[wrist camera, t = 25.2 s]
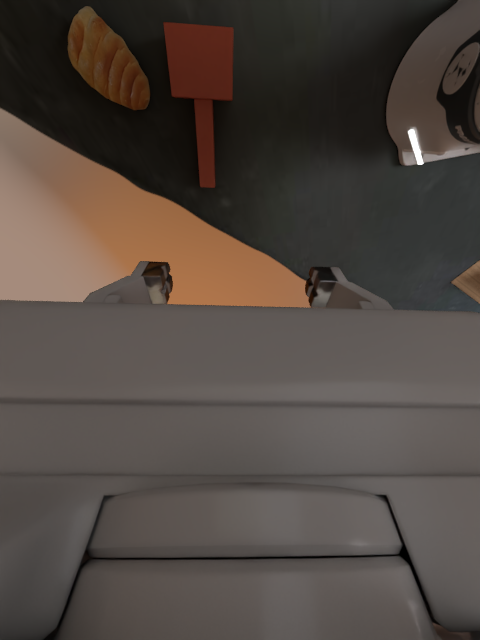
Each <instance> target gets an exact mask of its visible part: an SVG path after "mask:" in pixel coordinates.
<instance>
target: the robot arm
mask: <svg viewBox="0 0 480 640" xmlns="http://www.w3.org/2000/svg"><path fill="white" fill-rule="evenodd" d="M386 122H387V128H388V131H389V134H390V136H391V138H392V139H393V141H394V142H395V143H396V145H397V147H398V155H399V161H400V164H401V165H403V166H409V165H414V164H419V165H422V164H423V163H425V162H431V161H436V160H441V159H447V158H452V157H458V156H463V155H468V154H474V153H479V152H480V0H458V1H457V3H456V4H454V5H453V6H452V7H451V8H450V9H449V10H447V11H446V12H445V13H443V14H442V15H441V16H439V17H438V18H437V19H435V20H434V21H433V22H432V23H431V24H430V25H429V26H428V27H427V28H426V29H425V30H424V31H423V32H422V33H421V34H420V35H419V36H418V38H417V39H416V40H415V41H414V43H413V44H412V45H411V47H410V48H409V50H408V51H407V53H406V54H405V56H404V58H403V60H402V61H401V63H400V65H399V67H398V69H397V71H396V74H395V76H394V79H393V81H392V84H391V87H390V91H389V95H388V100H387V107H386ZM415 156H416V158H415ZM169 272H170V266H169V264H168V262H149V261H141V262H139V264H138V265H137V267H136V269H135V270H134V271H133V273H132V274H131V276H127V277H124V278H122V279H120V280H118V281H116V282H114V283H112V284H109V285H107V286H105V287H103V288H101V289H99V290H96V291H94V292H92V293H90V294H89V295H88V297H87V298H86V299H85V300H84V301H83V302H51V301H15V300H0V640H480V313H477V312H468V311H423V310H394V309H393V308H392V307H391V306H390V304H389V303H388V302H387V301H386V300H384V299H382V298H380V297H378V296H376V295H374V294H372V293H370V292H369V291H367V290H365V289H363V288H361V287H359V286H357V285H355V284H353V283H351V282H348V281H347V280H346V278H345V276H344V275H343V273H342V272H341V270H340V269H339V268H338V267H311V269H310V271H309V276H310V278H309V279H308V280H307V281H306V287H305V292H306V295H307V296H308V297H309V303H310V306H311V308H298V307H256V306H255V307H253V306H215V305H213V306H212V305H174V304H167V302H168V300H169V293H170V292H171V291H172V287H173V281H172V276H171V275H170V274H169Z"/></svg>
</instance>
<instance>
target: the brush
mask: <svg viewBox="0 0 480 640" xmlns="http://www.w3.org/2000/svg"><path fill="white" fill-rule="evenodd" d="M164 32H165V41H166V49H167V58H168V67H169V75H170V84H171V93H172V96H173V97H174V98H189V99H194V105H195V120H196V135H197V149H198V164H199V178H200V187H211V188H215V149H214V115H213V100H223V101H232V96H233V28H232V27H219V26H207V25H194V24H182V23H169V22H164Z"/></svg>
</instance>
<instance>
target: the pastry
mask: <svg viewBox="0 0 480 640" xmlns="http://www.w3.org/2000/svg"><path fill="white" fill-rule="evenodd" d="M68 54H69V57H70V60H71V63H72V65H73V67H74V68H75V69H76V70H77V71H78V72H79V73H80V74H81V76H82V77H83V79H84V80H85V81H86V82H87V83H88V84H89V85H90V86H91V87H92V88H94V89H96V90H97V91H98V92H99V93H101V94H102V95H103V96H104V97H105V98H107V99H110V100H111V101H113V102H116V103H118V104H120V105H123V106H125V107H128V108H130V109H132V110H142V109H146V108H147V106H148V104H149V101H150V89H149V83H148V79H147V77H146V76H145V74H144V73H143V71H142V70H141V68H140V66H139V64H138V61H137V60H136V59H135V57H134V56H133V54H132V53H131V52H130V50H129V49H128V47H127V46H126V44H125V42H124V40H123V39H122V38H121V37H120V36H119V35H117V34H115V33H114V32H113V30H112V29H111V28H110V27H109V26H107V25H106V24H105V22H104V21H103V20H102V19H101V18H100V17H99V16H98V15H97V14H96V13H95V11H94V10H93V9H92V8H91V7H88V6H85V7H84V8H83V9H80V10H79V12H78V14H76V15H75V16H74V18H73V21H72V23H71V26H70V30H69V34H68Z"/></svg>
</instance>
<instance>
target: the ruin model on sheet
mask: <svg viewBox="0 0 480 640" xmlns="http://www.w3.org/2000/svg"><path fill="white" fill-rule="evenodd" d="M451 283H453V284H454V285H455V286H457V287H458V288H459V289H461V290H462V291H464V292H465V293H466V294H468V295H469V296H470V297H472V298H473V299H474V300H476V301H477V302H478V303H480V260H479V261H478V262H477V263H475V264H474V265H473V266H472V267H470V268H469V269H468V270H466V271H465V272H464V273H462V274H461V275H460V276H458V277H457V278H456V279H454V280H453V281H452V282H451Z"/></svg>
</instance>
